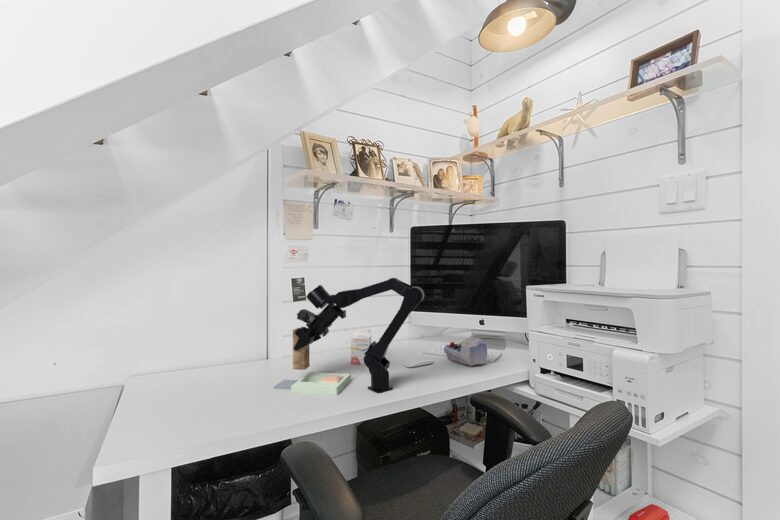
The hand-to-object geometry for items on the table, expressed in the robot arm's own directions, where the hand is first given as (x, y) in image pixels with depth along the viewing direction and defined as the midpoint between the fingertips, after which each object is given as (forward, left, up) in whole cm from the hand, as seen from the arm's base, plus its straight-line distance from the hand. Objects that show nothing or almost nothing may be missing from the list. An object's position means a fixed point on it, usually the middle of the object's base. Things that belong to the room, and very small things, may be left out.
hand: (297, 348), depth 136 cm
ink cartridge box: (+11, -34, -14) cm, 39 cm away
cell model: (-18, -70, -14) cm, 73 cm away
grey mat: (+3, +2, -14) cm, 14 cm away
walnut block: (-1, -1, -7) cm, 7 cm away
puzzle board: (-7, -6, -14) cm, 16 cm away
